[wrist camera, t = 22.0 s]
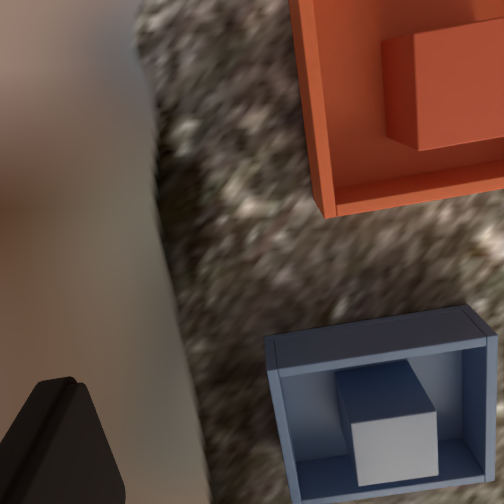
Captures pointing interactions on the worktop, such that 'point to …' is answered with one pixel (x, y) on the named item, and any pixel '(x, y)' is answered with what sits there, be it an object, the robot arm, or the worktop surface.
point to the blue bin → (372, 354)
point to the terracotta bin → (377, 107)
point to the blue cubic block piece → (387, 423)
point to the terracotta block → (445, 85)
